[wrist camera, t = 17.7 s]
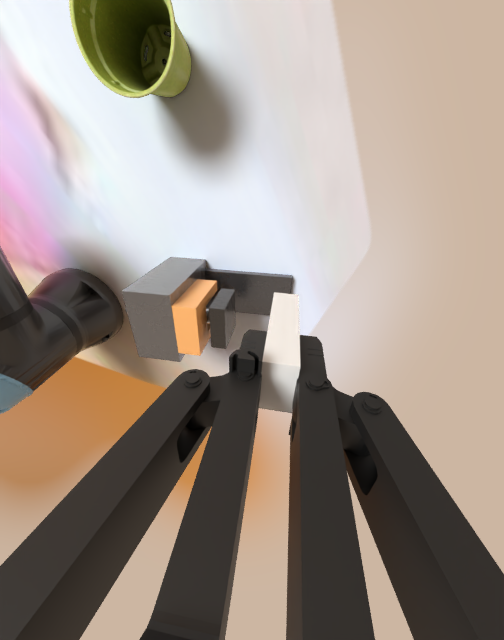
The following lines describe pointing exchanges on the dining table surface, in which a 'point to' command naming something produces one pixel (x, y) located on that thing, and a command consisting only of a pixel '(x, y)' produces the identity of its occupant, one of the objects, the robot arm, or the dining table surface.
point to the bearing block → (170, 284)
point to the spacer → (193, 317)
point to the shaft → (221, 318)
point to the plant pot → (132, 45)
